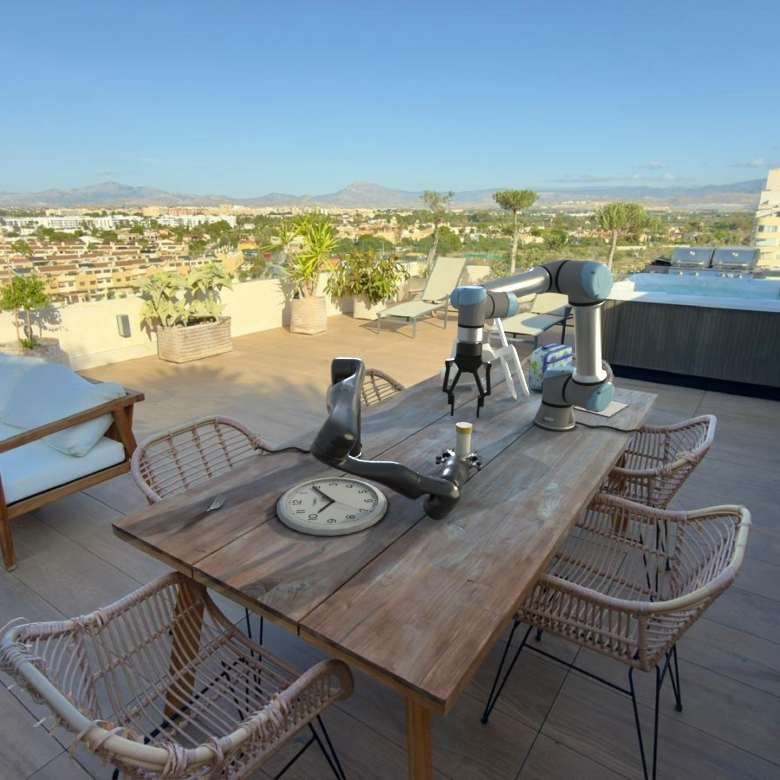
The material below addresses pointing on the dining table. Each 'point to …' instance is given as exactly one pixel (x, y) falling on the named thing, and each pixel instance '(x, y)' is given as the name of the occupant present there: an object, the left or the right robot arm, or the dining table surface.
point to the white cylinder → (463, 444)
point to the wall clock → (331, 506)
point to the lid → (464, 428)
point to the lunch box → (547, 362)
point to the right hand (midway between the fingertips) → (464, 415)
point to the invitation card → (608, 408)
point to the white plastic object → (496, 359)
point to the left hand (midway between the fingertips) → (463, 450)
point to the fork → (213, 506)
